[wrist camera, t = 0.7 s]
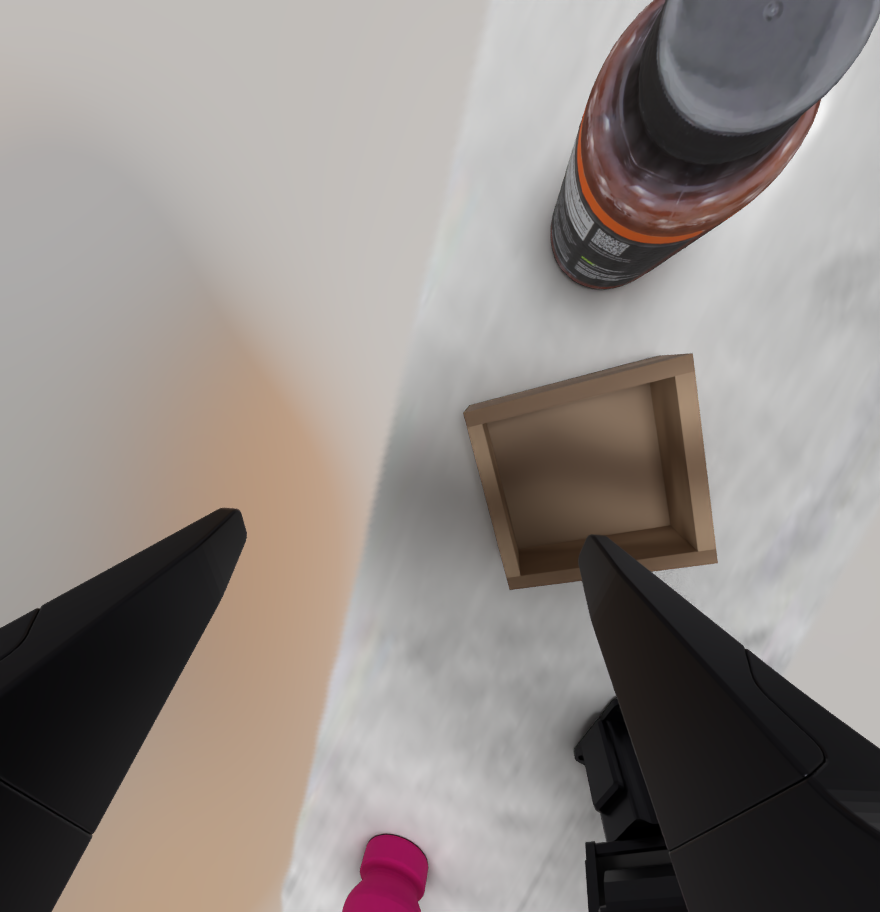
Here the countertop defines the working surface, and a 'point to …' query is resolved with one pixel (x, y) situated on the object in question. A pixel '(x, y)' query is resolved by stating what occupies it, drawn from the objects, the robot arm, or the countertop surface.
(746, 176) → the supplement bottle
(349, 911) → the pepper mill
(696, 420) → the wooden box
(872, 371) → the countertop surface
